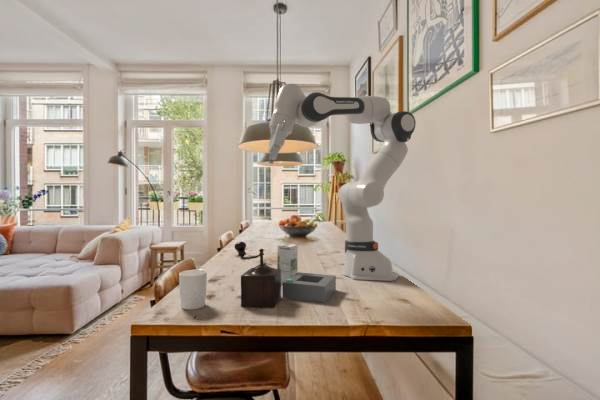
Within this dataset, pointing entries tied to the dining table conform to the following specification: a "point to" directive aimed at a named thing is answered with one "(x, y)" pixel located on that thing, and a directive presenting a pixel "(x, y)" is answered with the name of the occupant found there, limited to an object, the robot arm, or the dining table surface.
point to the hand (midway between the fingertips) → (272, 161)
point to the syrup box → (287, 260)
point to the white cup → (192, 288)
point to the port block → (309, 287)
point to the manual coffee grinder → (259, 282)
